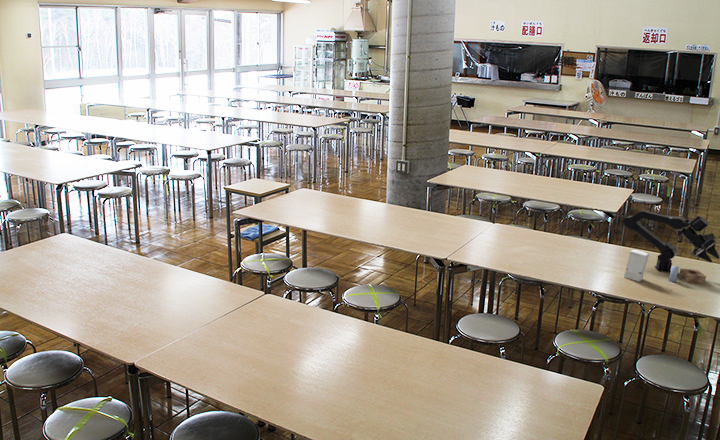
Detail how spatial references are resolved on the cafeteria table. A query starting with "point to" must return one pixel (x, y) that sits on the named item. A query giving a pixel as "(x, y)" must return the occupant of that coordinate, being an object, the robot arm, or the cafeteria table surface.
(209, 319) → the cafeteria table surface
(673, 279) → the peg
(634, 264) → the skincare box
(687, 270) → the socket block
